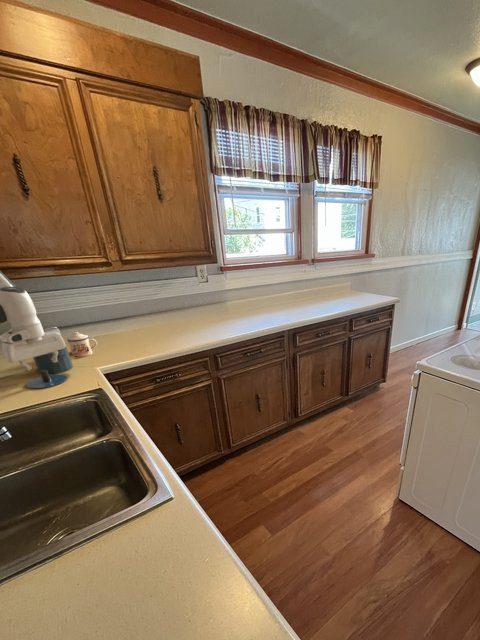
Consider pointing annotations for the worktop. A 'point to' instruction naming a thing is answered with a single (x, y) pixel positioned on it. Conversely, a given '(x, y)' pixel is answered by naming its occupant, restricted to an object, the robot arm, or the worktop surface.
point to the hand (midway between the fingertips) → (42, 365)
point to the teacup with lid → (80, 345)
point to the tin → (54, 368)
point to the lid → (46, 380)
